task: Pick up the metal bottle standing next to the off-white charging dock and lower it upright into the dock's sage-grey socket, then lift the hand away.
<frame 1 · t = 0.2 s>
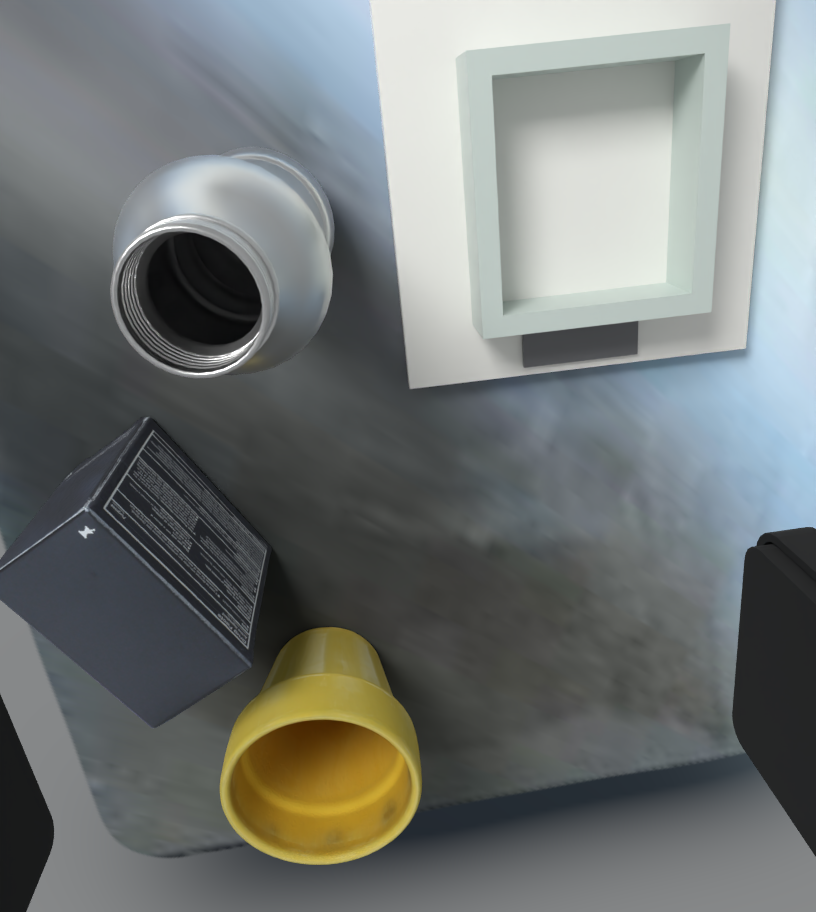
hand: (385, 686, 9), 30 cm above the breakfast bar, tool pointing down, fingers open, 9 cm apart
small box: (171, 513, 41), on the breakfast bar
metal bottle: (267, 220, 36), on the breakfast bar
plant pot: (325, 667, 46), on the breakfast bar
charging dock: (572, 186, 36), on the breakfast bar
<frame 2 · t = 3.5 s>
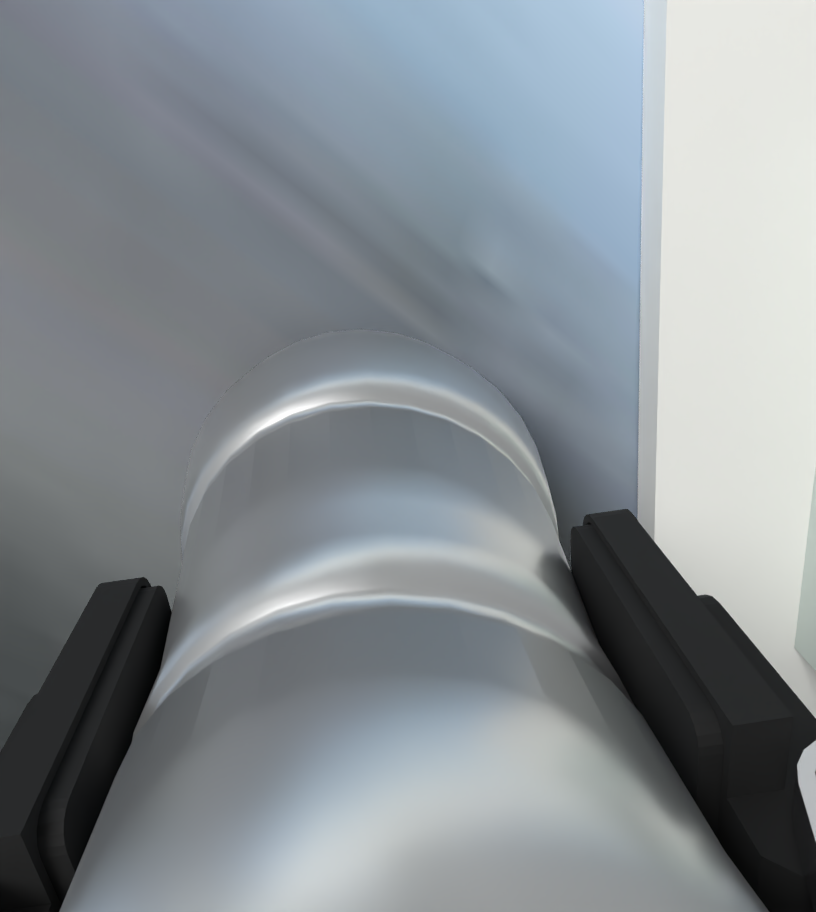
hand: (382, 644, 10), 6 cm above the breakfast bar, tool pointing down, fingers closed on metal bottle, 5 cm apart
metal bottle: (366, 454, 16), on the breakfast bar, touching gripper
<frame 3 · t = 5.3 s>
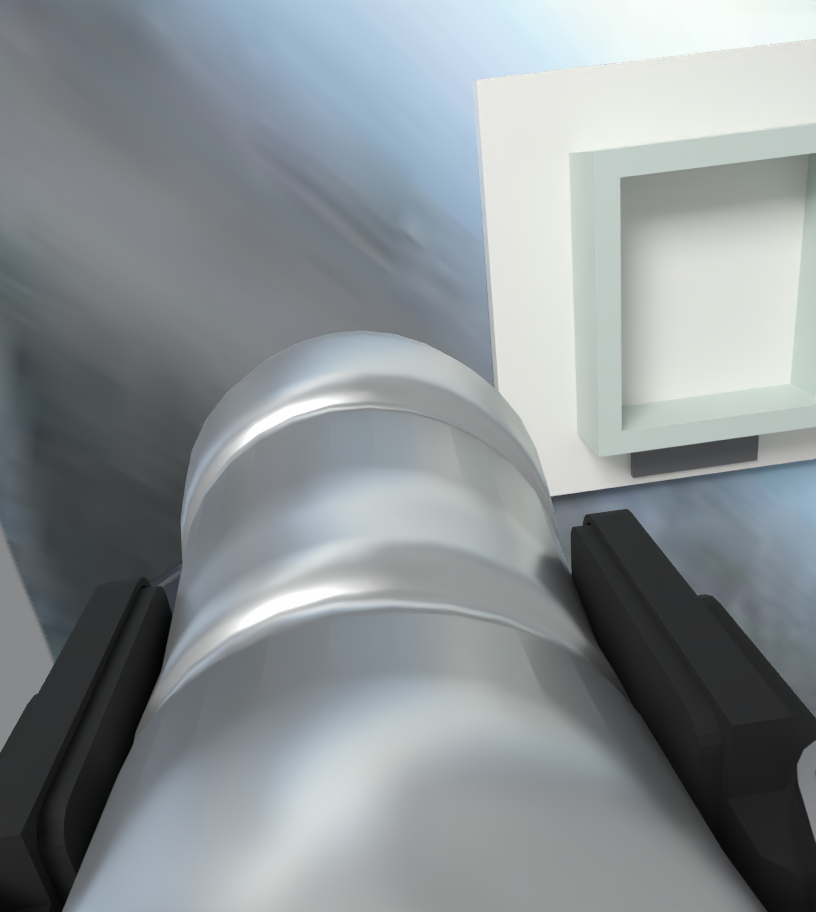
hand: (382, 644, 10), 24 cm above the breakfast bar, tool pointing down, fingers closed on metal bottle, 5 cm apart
small box: (239, 635, 38), on the breakfast bar
metal bottle: (366, 454, 16), point 17 cm above the breakfast bar, touching gripper
charging dock: (688, 283, 33), on the breakfast bar
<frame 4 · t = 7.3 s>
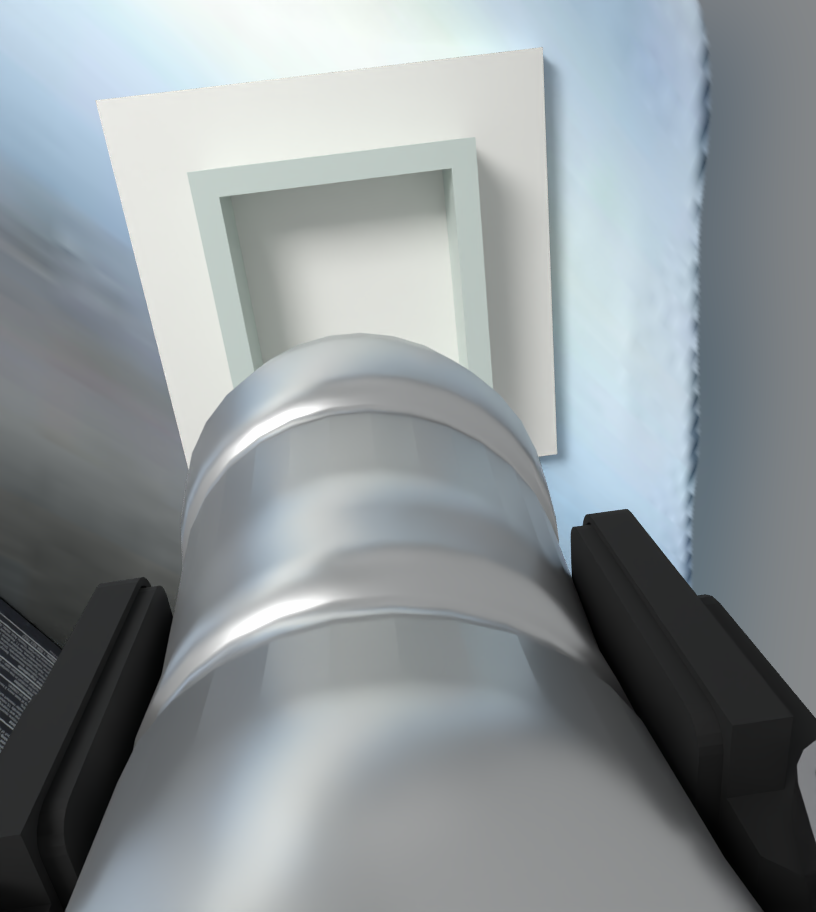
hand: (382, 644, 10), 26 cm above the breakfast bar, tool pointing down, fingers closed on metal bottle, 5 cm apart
metal bottle: (366, 457, 16), point 19 cm above the breakfast bar, touching gripper
charging dock: (352, 293, 34), on the breakfast bar
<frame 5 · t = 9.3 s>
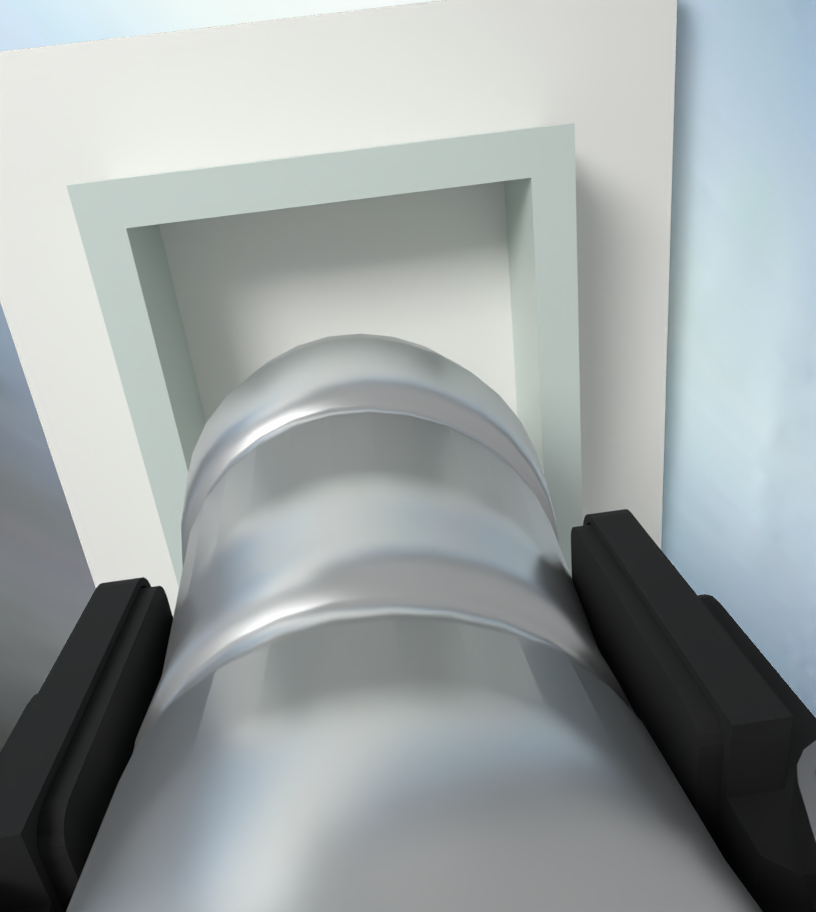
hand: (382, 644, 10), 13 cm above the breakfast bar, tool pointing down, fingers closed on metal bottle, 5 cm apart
metal bottle: (366, 457, 16), point 6 cm above the breakfast bar, touching gripper
charging dock: (357, 368, 22), on the breakfast bar
when the fingers open (9 cm above the breakfast bar, at t = 11.1 s): metal bottle drops 1 cm, resting on charging dock.
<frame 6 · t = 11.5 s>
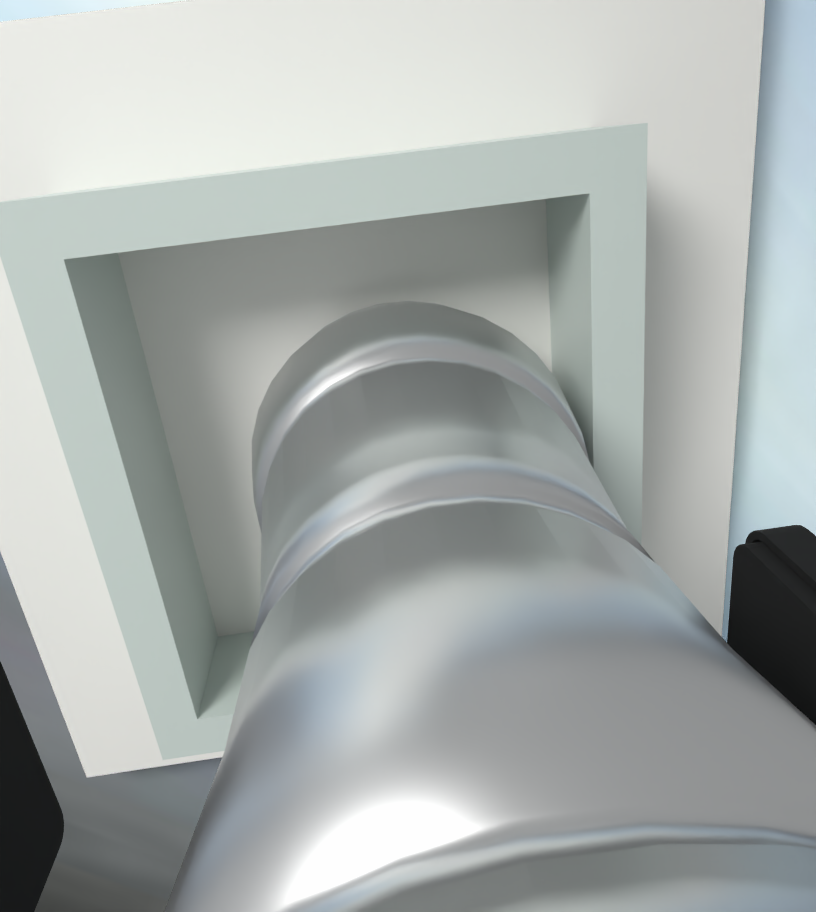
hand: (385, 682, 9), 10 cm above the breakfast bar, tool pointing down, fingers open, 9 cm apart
metal bottle: (407, 420, 17), point 1 cm above the breakfast bar, touching charging dock
charging dock: (363, 419, 18), on the breakfast bar
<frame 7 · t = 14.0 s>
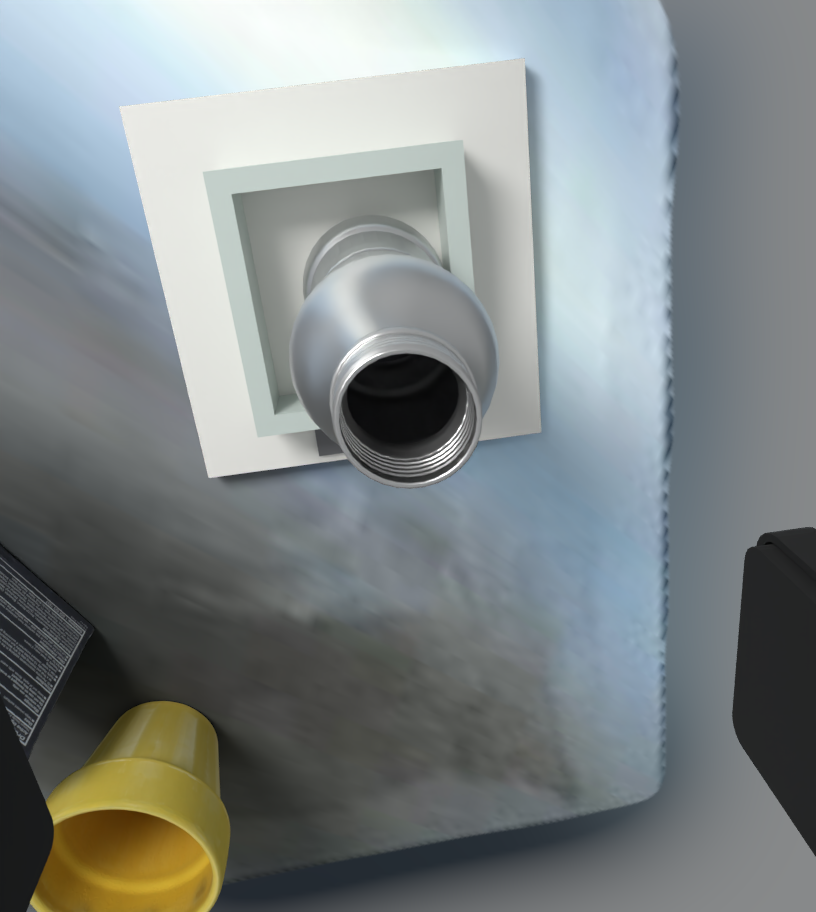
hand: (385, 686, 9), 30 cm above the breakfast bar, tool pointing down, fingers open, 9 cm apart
metal bottle: (373, 280, 36), point 1 cm above the breakfast bar, touching charging dock
plant pot: (164, 738, 47), on the breakfast bar
charging dock: (352, 283, 37), on the breakfast bar
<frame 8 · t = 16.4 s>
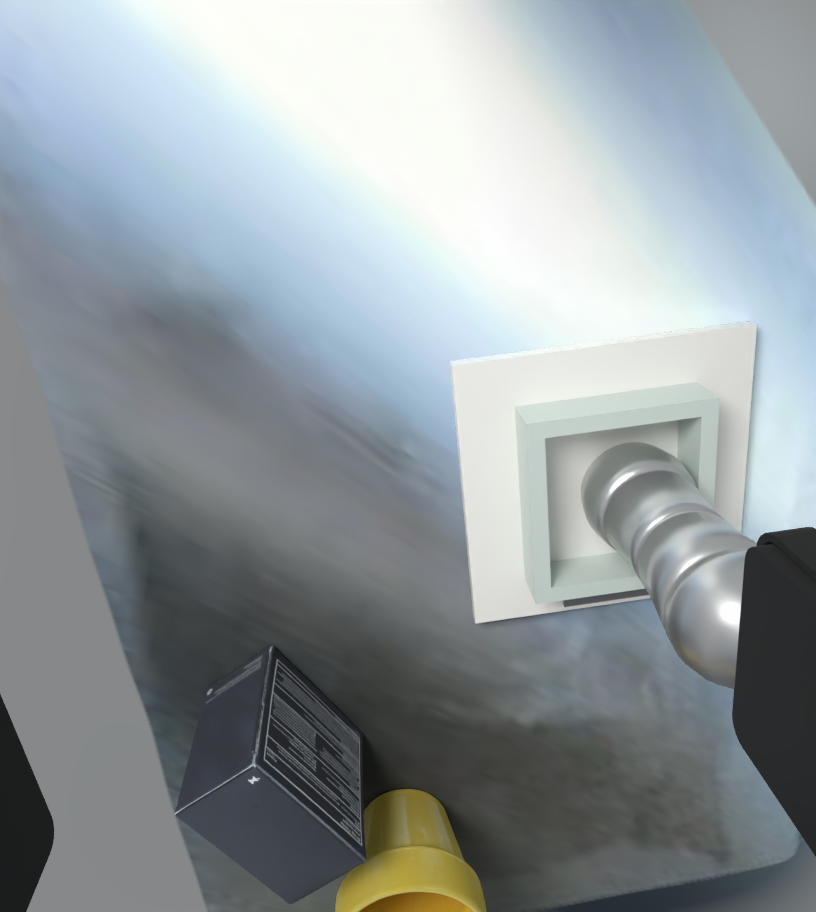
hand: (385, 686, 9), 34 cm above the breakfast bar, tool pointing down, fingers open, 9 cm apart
small box: (284, 710, 52), on the breakfast bar
metal bottle: (621, 479, 46), point 1 cm above the breakfast bar, touching charging dock
plant pot: (401, 817, 57), on the breakfast bar
charging dock: (601, 478, 47), on the breakfast bar
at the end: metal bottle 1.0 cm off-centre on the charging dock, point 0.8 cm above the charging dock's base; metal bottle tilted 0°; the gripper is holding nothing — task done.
